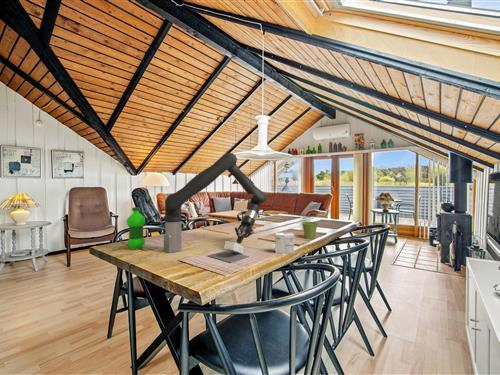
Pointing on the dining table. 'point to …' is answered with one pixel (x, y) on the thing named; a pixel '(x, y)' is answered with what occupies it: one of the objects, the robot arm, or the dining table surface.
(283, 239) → the light bulb box
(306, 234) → the plant pot
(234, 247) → the skincare box
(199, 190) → the robot arm
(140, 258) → the dining table surface
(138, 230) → the plastic bottle
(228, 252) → the mat
